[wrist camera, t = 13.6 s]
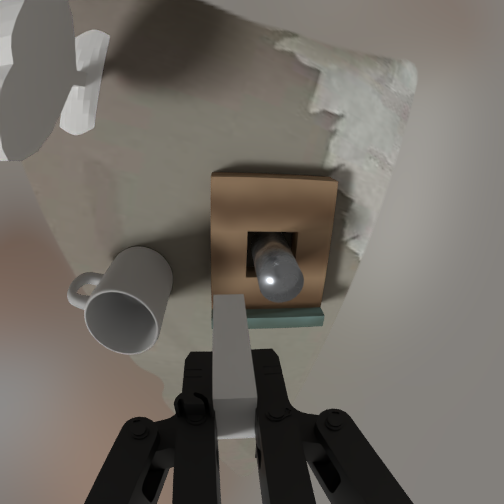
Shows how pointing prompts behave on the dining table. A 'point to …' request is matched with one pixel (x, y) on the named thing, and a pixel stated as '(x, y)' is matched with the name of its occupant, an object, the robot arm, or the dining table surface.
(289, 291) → the grey metal cylinder
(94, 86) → the heart sculpture
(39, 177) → the dining table surface
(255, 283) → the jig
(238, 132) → the dining table surface
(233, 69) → the dining table surface
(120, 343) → the mug
